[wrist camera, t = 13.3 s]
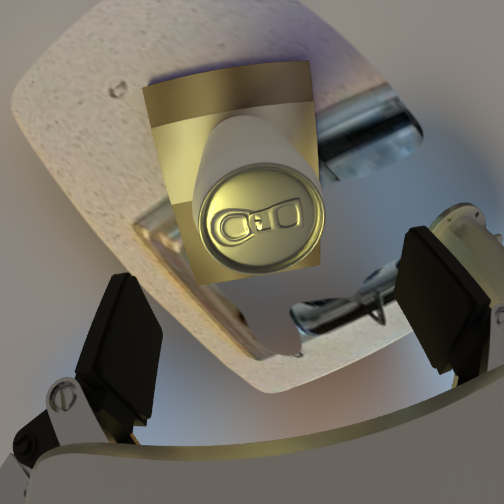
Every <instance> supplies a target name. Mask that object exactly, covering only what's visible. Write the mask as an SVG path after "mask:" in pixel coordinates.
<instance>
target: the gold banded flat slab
mask: <svg viewBox="0 0 504 504" xmlns="http://www.w3.org/2000/svg"><path fill="white" fill-rule="evenodd" d="M142 89H143V94H144V99H145V103H146V108H147V112H148V116H149V121H150V125H151V130H152V134H153V139H154V142H155V146H156V150H157V154H158V158H159V162H160V166H161V169H162V173H163V177H164V180H165V184H166V187H167V191H168V195H169V198H170V201H171V205H172V207H173V211H174V214H175V217H176V221H177V224H178V227H179V230H180V234H181V237H182V240H183V243H184V246H185V250H186V253H187V256H188V259H189V262H190V265H191V268H192V271H193V274H194V277H195V280H196V283H197V286H198V285H205V284H211V283H217V282H224V281H230V280H236V279H242V278H248V277H253V275H245V274H240V273H237V272H234V271H231V270H229V269H227V268H225V267H224V266H222V265H221V264H219V263H218V262H217V261H215V260H214V259H213V258H212V257H211V256H210V254H209V253H208V252H207V250H206V249H205V247H204V245H203V243H202V241H201V238H200V235H199V232H198V230H197V228H196V226H195V223H194V219H193V213H192V199H193V192H194V186H195V182H196V177H197V173H198V168H199V164H200V160H201V156H202V152H203V149H204V145H205V142H206V140H207V138H208V136H209V134H210V133H211V131H212V130H213V129H214V128H215V127H216V126H217V125H218V124H220V123H221V122H223V121H224V120H226V119H229V118H231V117H235V116H240V115H249V116H255V117H258V118H261V119H263V120H265V121H267V122H268V123H270V124H271V125H272V126H273V127H275V128H276V129H277V130H278V131H279V132H280V133H281V134H282V135H283V136H284V137H285V138H286V139H287V140H288V141H289V142H290V143H291V144H292V146H293V147H294V148H295V149H296V150H297V151H298V152H299V153H300V154H301V155H302V156H303V157H304V159H305V160H306V161H307V162H308V163H309V165H310V166H311V167H312V169H313V170H314V172H315V173H316V175H317V177H318V179H319V167H318V149H317V134H316V121H315V109H314V101H313V92H312V82H311V73H310V65H309V60H305V61H286V62H273V63H263V64H254V65H246V66H239V67H232V68H226V69H220V70H214V71H209V72H203V73H198V74H194V75H189V76H185V77H180V78H176V79H172V80H168V81H164V82H161V83H157V84H153V85H150V86H147V87H143V88H142ZM317 265H320V240H319V241H318V243H317V245H316V246H315V248H314V249H313V250H312V252H311V253H310V254H309V255H308V256H307V257H306V258H305V259H303V260H302V261H301V262H299V263H298V264H296V265H295V266H293V267H291V268H289V269H287V270H284V271H289V270H295V269H300V268H305V267H311V266H317ZM282 272H283V271H282Z"/></svg>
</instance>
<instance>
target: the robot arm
mask: <svg viewBox="0 0 504 504" xmlns="http://www.w3.org/2000/svg"><path fill="white" fill-rule="evenodd" d="M502 240H503V238H502V235H501V234H496V235H493V234H492V233H490V232H489V231H488V230H487V229H486V224H485V218H484V215H483V213H482V212H481V211H480V209H478V208H477V207H476V206H474V205H473V204H471V203H459V204H457V205H454V206H452V207H450V208H448V209H447V210H445V211H444V212H443V213H442V214H440V215H439V216H438V217H437V218H436V220H435V221H434V222H433V223H432V224H431V226H430V227H429V228H427V227H426V226H418V227H413V228H410V229H409V231H408V232H407V233H406V234H405V238H404V245H403V249H402V255H401V260H400V265H399V270H398V274H397V279H396V283H395V288H394V296H395V299H396V301H397V302H398V304H399V306H400V308H401V309H402V311H403V313H404V315H405V316H406V318H407V320H408V322H409V323H410V325H411V327H412V329H413V331H414V333H415V334H416V336H417V338H418V340H419V342H420V344H421V346H422V348H423V349H424V351H425V353H426V355H427V357H428V359H429V361H430V363H431V365H432V367H433V368H437V370H438V373H439V374H440V375H441V374H443V373H445V372H448V371H450V370H452V369H453V371H454V373H455V375H454V380H453V384H452V388H451V390H448V391H446V392H444V393H442V394H439V395H437V396H435V397H432V398H430V399H428V400H425V401H423V402H420V403H418V404H415V405H412V406H409V407H407V408H404V409H401V410H398V411H395V412H392V413H389V414H386V415H384V416H380V417H377V418H374V419H370V420H367V421H363V422H360V423H356V424H353V425H349V426H345V427H341V428H337V429H333V430H328V431H324V432H319V433H315V434H309V435H304V436H299V437H292V438H286V439H279V440H273V441H265V442H256V443H246V444H235V445H218V446H150V445H148V446H147V445H140V443H139V442H138V440H137V439H136V437H135V436H134V434H133V426H146V425H147V419H149V418H150V417H151V414H152V406H153V398H154V390H155V383H156V376H157V369H158V363H159V356H160V350H161V344H162V338H163V333H162V329H161V326H160V325H159V323H158V321H157V319H156V317H155V315H154V313H153V311H152V309H151V307H150V305H149V303H148V301H147V299H146V297H145V295H144V293H143V291H142V289H141V287H140V285H139V283H138V280H137V278H136V277H135V276H131V274H130V273H128V272H127V273H121V274H114V275H113V276H112V277H111V279H110V281H109V284H108V286H107V288H106V290H105V293H104V295H103V298H102V300H101V302H100V305H99V307H98V309H97V312H96V315H95V317H94V319H93V322H92V325H91V327H90V330H89V332H88V335H87V338H86V340H85V343H84V346H83V349H82V352H81V354H80V357H79V360H78V363H77V366H76V370H75V373H76V376H75V379H74V378H70V377H64V378H61V379H59V380H57V381H56V382H55V383H54V384H52V386H51V387H50V388H49V390H48V393H47V395H46V408H47V409H46V410H45V411H44V412H42V413H41V414H39V415H38V416H37V417H36V418H34V419H33V420H32V421H31V422H29V423H28V424H27V425H26V426H24V427H23V428H22V429H20V431H19V432H18V433H17V434H16V436H15V438H14V441H13V452H14V454H12V453H10V454H9V456H8V457H7V459H6V460H5V462H4V463H3V465H2V466H1V468H0V504H504V246H503V245H502V244H501V242H502Z"/></svg>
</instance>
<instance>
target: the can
mask: <svg viewBox="0 0 504 504" xmlns="http://www.w3.org/2000/svg"><path fill="white" fill-rule="evenodd" d="M192 213H193V219H194V223H195V226H196V228H197V230H198V232H199V235H200V238H201V241H202V243H203V245H204V247H205V249H206V250H207V252H208V253H209V254H210V256H211V257H212V258H213V259H214V260H215V261H217V262H218V263H219V264H221V265H222V266H224V267H225V268H227V269H229V270H231V271H234V272H237V273H240V274H245V275H253V276H262V275H270V274H275V273H279V272H282V271H284V270H287V269H289V268H291V267H293V266H295V265H296V264H298V263H299V262H301V261H302V260H303V259H305V258H306V257H307V256H308V255H309V254H310V253H311V252H312V250H313V249H314V248H315V246H316V245H317V243H318V241H319V240H320V238H321V235H322V233H323V229H324V225H325V207H324V202H323V192H322V188H321V184H320V182H319V179H318V177H317V175H316V173H315V172H314V170H313V169H312V167H311V166H310V165H309V163H308V162H307V161H306V160H305V159H304V157H303V156H302V155H301V154H300V153H299V152H298V151H297V150H296V149H295V148H294V147H293V146H292V144H291V143H290V142H289V141H288V140H287V139H286V138H285V137H284V136H283V135H282V134H281V133H280V132H279V131H278V130H277V129H276V128H275V127H273V126H272V125H271V124H270V123H268V122H267V121H265V120H263V119H261V118H258V117H255V116H249V115H240V116H235V117H231V118H229V119H226V120H224V121H223V122H221V123H220V124H218V125H217V126H216V127H215V128H214V129H213V130H212V131H211V133H210V134H209V136H208V138H207V140H206V142H205V145H204V149H203V152H202V156H201V160H200V164H199V168H198V173H197V177H196V182H195V186H194V192H193V199H192Z"/></svg>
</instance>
